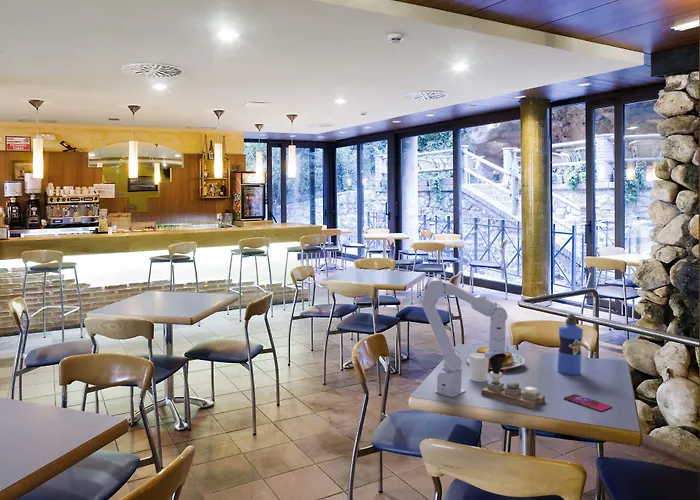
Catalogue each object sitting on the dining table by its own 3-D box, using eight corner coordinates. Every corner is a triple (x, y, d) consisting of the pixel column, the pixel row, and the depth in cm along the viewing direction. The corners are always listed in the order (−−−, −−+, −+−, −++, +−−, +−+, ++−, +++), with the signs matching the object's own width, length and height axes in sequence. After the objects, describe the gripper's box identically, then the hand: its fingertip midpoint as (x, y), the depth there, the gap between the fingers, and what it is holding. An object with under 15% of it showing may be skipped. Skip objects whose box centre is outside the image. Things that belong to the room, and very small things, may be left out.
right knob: (533, 400, 198) (534, 391, 198) (522, 397, 201) (522, 388, 201) (539, 397, 201) (539, 388, 201) (527, 394, 204) (528, 385, 204)
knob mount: (532, 408, 196) (533, 393, 195) (481, 394, 209) (482, 380, 209) (544, 401, 203) (545, 386, 202) (494, 388, 216) (495, 374, 216)
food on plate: (517, 377, 231) (517, 362, 230) (459, 368, 243) (459, 353, 242) (530, 361, 253) (530, 347, 252) (476, 353, 265) (476, 340, 264)
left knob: (498, 384, 207) (498, 375, 207) (487, 381, 210) (487, 373, 210) (503, 381, 210) (504, 373, 210) (493, 378, 213) (493, 370, 213)
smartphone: (601, 411, 193) (562, 397, 205) (600, 413, 193) (562, 400, 205) (613, 406, 197) (574, 393, 210) (613, 408, 197) (574, 395, 210)
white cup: (466, 380, 225) (466, 356, 224) (471, 375, 232) (472, 351, 231) (485, 383, 222) (486, 359, 221) (490, 378, 228) (491, 354, 228)
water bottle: (585, 374, 234) (588, 315, 232) (568, 377, 231) (571, 317, 228) (569, 368, 243) (572, 311, 240) (552, 370, 239) (554, 313, 237)
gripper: (497, 343, 201) (496, 379, 202) (516, 336, 211) (515, 370, 213) (480, 339, 205) (479, 375, 207) (499, 332, 216) (498, 367, 217)
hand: (496, 373), depth 210 cm, fingers closed
